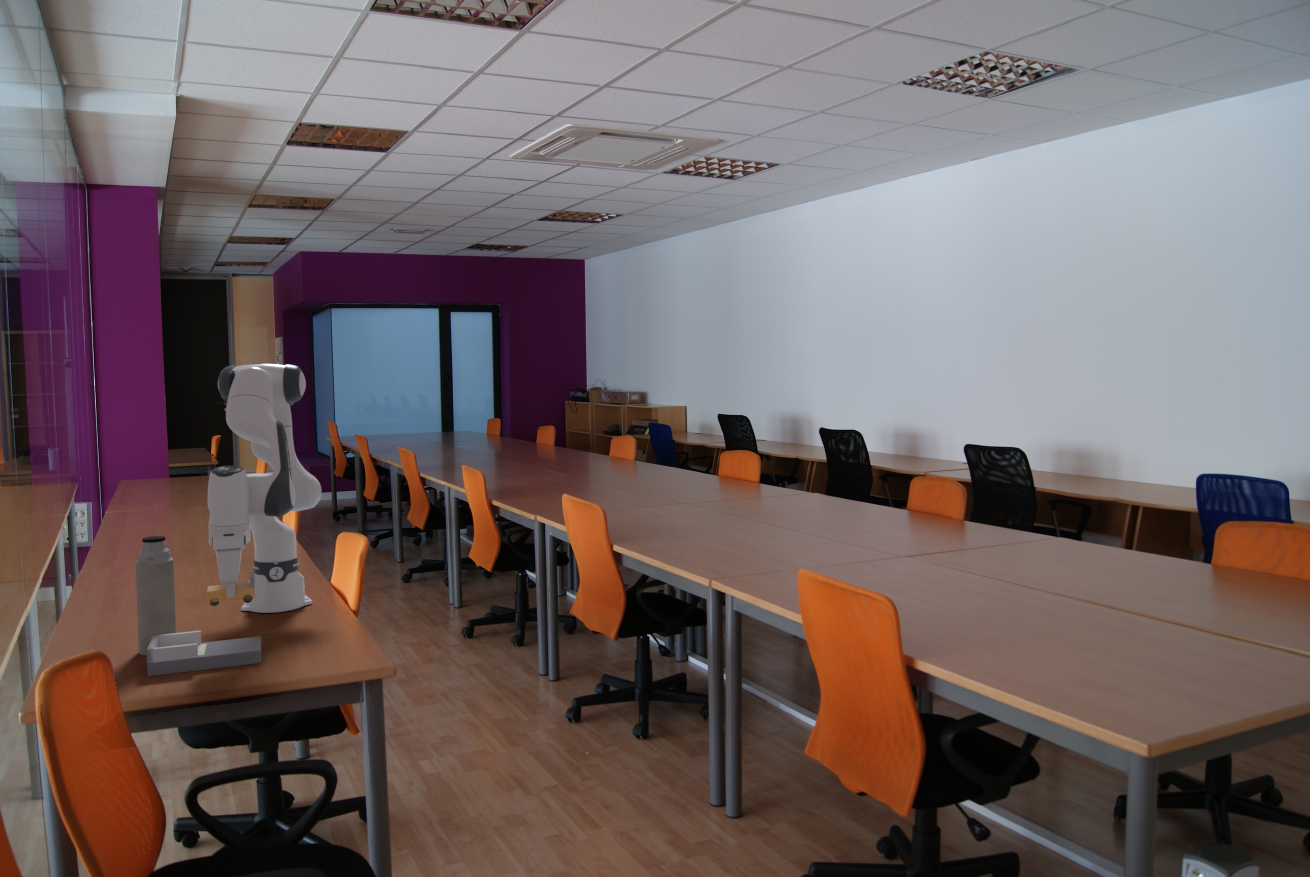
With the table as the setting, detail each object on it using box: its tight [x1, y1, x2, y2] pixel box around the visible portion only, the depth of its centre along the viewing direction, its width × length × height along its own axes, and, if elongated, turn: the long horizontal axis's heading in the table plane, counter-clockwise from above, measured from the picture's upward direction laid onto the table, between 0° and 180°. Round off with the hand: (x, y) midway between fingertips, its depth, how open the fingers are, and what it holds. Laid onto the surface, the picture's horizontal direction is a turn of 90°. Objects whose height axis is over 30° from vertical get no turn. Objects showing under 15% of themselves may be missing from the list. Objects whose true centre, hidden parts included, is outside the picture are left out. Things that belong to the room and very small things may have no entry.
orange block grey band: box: [206, 571, 255, 607], centre depth 204 cm, size 6×10×6 cm, turn 114°
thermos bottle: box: [135, 535, 177, 657], centre depth 210 cm, size 8×8×28 cm
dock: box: [146, 630, 262, 677], centre depth 203 cm, size 12×23×6 cm, turn 114°
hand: (231, 593), depth 204 cm, fingers closed on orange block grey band, 6 cm apart
